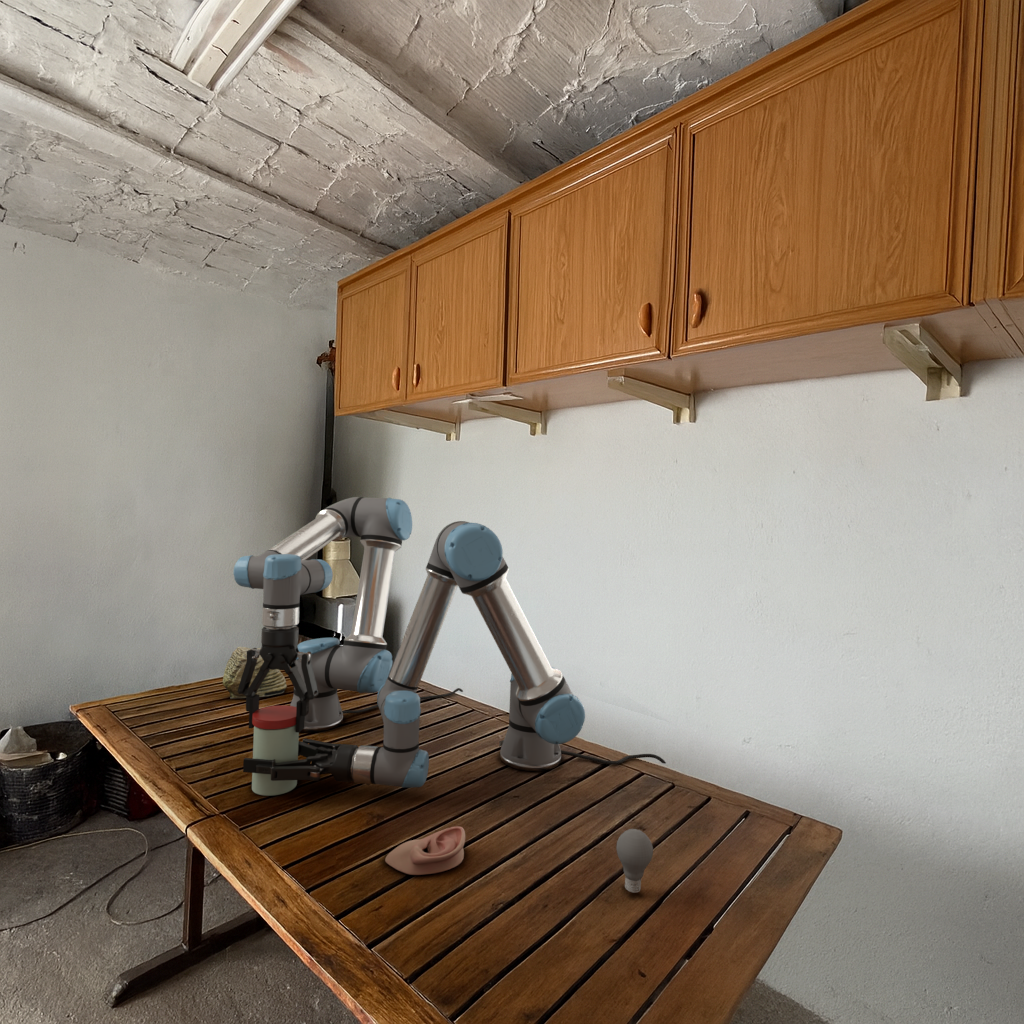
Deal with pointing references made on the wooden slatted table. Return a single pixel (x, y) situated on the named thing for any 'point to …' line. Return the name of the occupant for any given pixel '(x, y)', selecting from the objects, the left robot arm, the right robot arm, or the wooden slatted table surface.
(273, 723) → the lid
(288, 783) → the jar
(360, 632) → the left robot arm
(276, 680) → the fossil
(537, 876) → the wooden slatted table surface
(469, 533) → the right robot arm
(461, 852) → the anatomical model
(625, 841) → the light bulb
